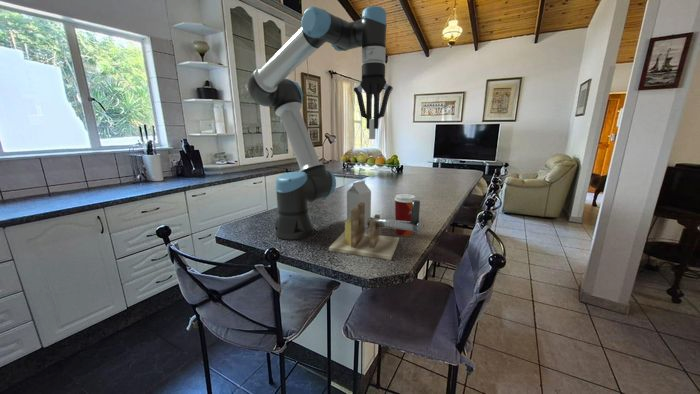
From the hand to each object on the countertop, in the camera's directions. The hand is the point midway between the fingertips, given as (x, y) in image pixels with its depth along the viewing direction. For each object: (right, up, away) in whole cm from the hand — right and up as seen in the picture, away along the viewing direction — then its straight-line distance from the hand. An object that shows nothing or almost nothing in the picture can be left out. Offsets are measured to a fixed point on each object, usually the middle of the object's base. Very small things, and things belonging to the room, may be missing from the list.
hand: (372, 138), depth 94 cm
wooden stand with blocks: (-2, -37, +2) cm, 37 cm away
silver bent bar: (+7, -31, -2) cm, 32 cm away
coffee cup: (+13, -34, +14) cm, 39 cm away
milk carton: (-4, -32, +22) cm, 39 cm away
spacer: (-7, -31, +3) cm, 32 cm away
